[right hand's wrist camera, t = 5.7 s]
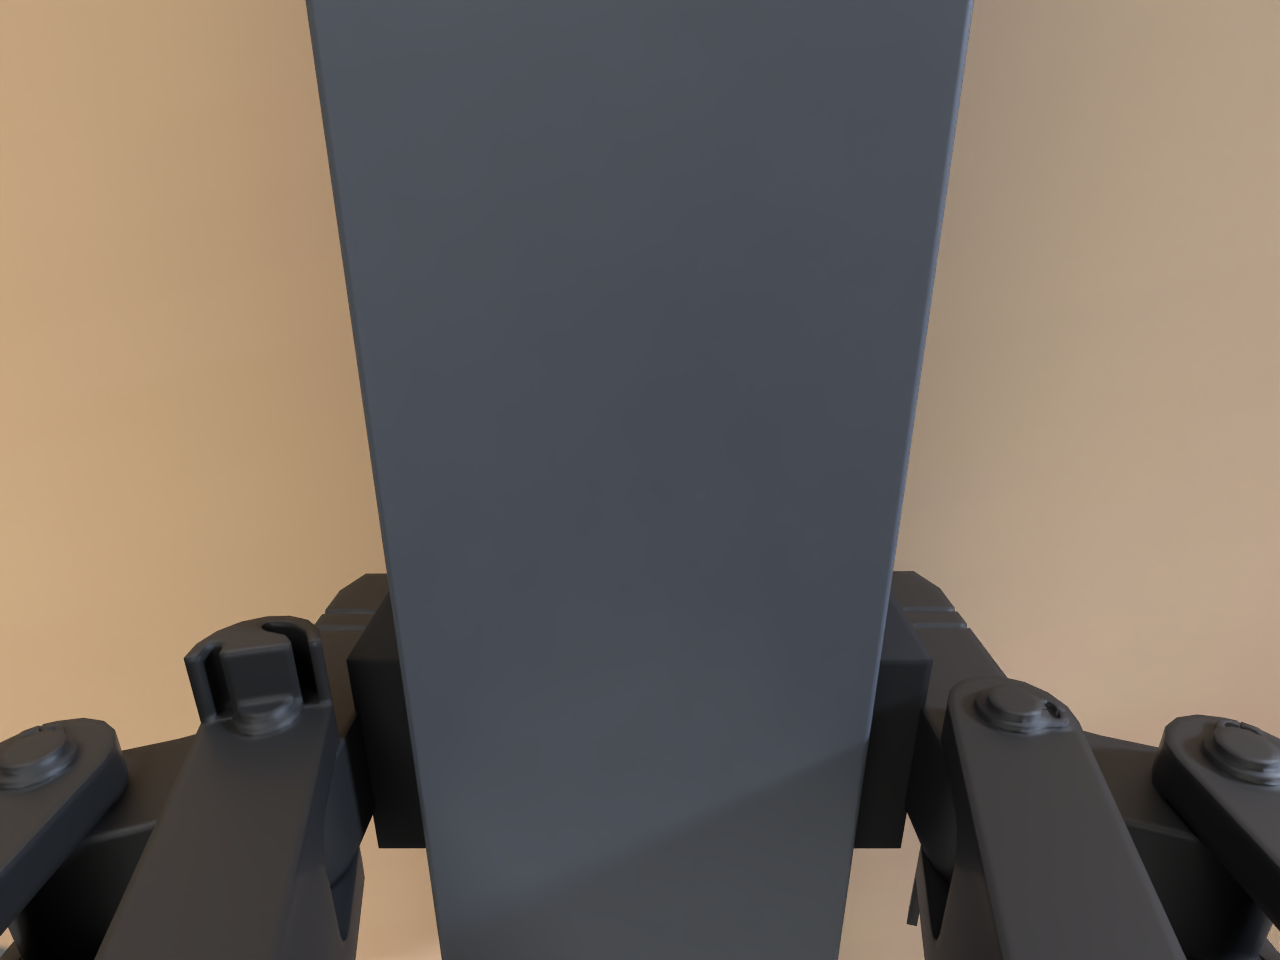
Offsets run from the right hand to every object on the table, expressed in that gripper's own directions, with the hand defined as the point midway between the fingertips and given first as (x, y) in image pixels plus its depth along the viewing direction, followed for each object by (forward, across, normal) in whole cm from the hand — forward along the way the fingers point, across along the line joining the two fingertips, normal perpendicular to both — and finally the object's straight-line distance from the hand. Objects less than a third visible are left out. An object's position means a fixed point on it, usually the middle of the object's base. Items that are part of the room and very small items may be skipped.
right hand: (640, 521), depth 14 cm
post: (+1, 0, -19) cm, 19 cm away
